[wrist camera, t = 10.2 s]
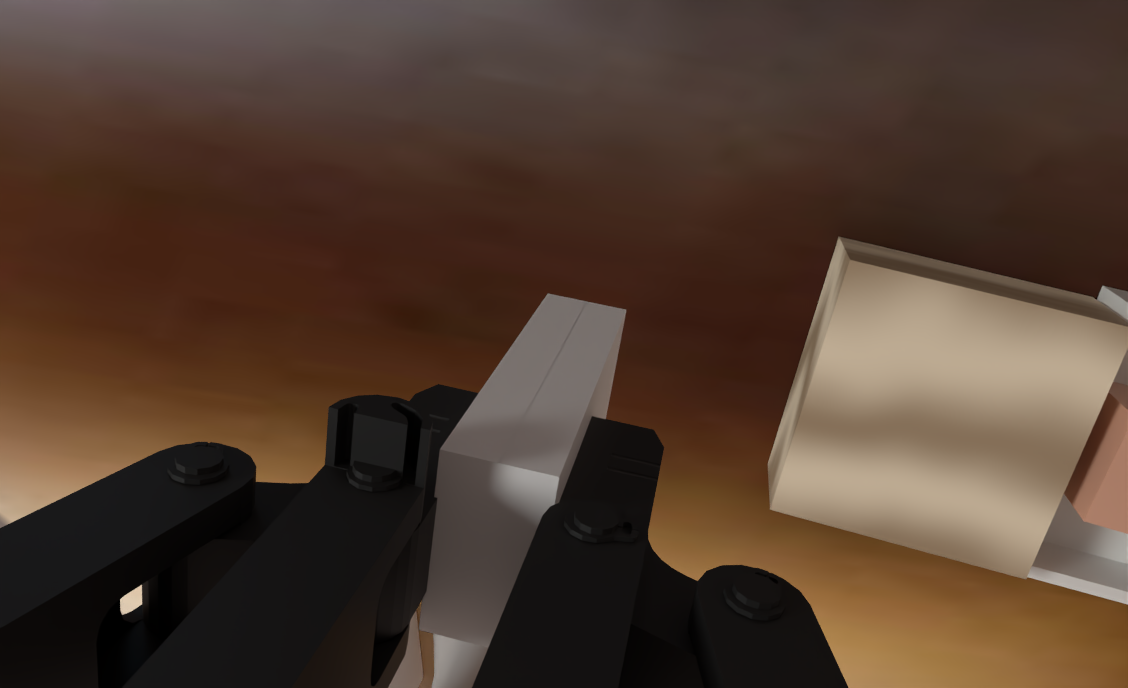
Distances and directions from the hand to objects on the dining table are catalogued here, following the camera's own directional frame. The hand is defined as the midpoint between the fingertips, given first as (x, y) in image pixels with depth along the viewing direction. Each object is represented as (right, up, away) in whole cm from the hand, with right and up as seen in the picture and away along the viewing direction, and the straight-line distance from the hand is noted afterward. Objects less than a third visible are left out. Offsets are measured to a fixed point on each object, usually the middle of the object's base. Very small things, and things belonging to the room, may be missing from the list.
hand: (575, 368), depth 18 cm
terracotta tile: (+23, -4, +23) cm, 33 cm away
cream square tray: (+17, -1, +27) cm, 32 cm away
